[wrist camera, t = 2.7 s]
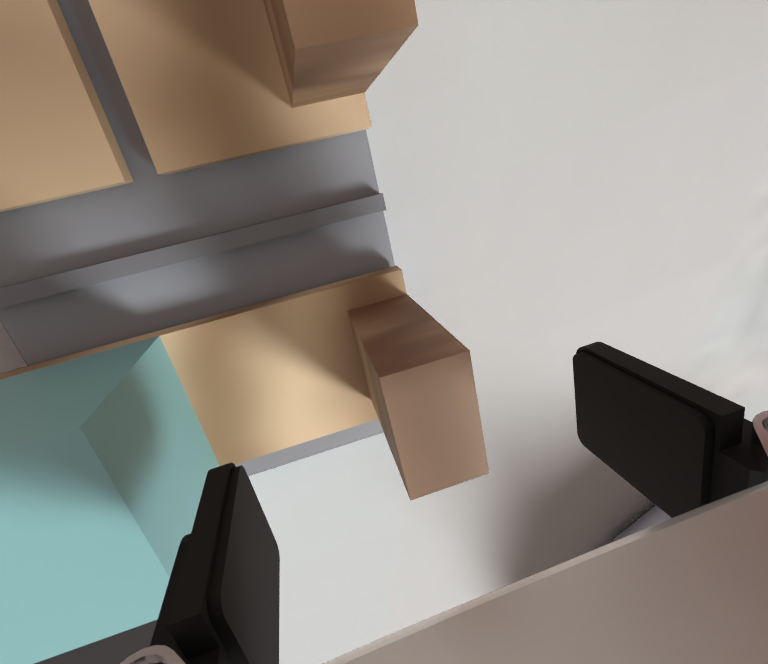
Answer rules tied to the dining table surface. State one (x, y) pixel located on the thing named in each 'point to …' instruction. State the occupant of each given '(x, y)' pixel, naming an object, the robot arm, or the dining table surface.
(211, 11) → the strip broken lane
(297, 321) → the strip cube lane
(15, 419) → the cube
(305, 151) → the lane board
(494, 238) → the dining table surface
